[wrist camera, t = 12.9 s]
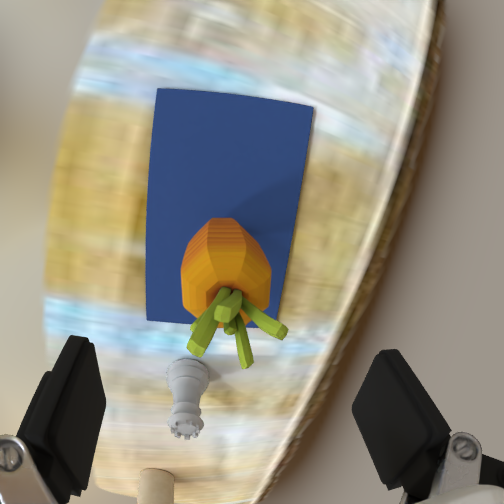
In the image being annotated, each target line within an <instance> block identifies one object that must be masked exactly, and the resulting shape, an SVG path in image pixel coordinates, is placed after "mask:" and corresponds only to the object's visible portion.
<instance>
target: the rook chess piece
mask: <svg viewBox="0 0 504 504" xmlns="http://www.w3.org/2000/svg"><path fill="white" fill-rule="evenodd" d="M166 373H167V378H166V380H167V384H168V387H169V388H170V390H171V392H172V393H173V402H174V403H173V406H172V408H171V413H172V414H173V415H172V416H170V417H169V418H168V421H167V423H168V426H169V427H170V428H171V433H175V437H177V438H180V437H181V435H184V436H185V440H190V436H191V435H193V437H194V438H196V437H198V433H200V430H202V428H203V426H204V423H203V420H202V419H201V418H200V417H199V416H200V415H201V409H200V408H199V403H200V398H201V395H202V394H203V392H204V391H205V390H206V388H207V386H208V384H209V382H208V379H209V372H208V370H207V369H206V367H205V366H204V365H202V364H201V363H199V362H198V361H196V360H192V359H181V360H178V361H175V362H173V363H172V364H171V365H170V366H169V367H168V369H167V372H166Z"/></svg>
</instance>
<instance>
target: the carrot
mask: <svg viewBox="0 0 504 504" xmlns="http://www.w3.org/2000/svg"><path fill="white" fill-rule="evenodd" d="M271 272H272V271H271V267H270V265H269V262H268V260H267V258H266V256H265V254H264V252H263V250H262V249H261V247H260V245H259V243H258V242H257V241H256V240H255V239H254V238H253V237H252V236H251V235H250V234H249V233H248V232H247V231H246V230H245V229H244V228H243V227H242V226H241V225H240V224H239V223H238V222H237V221H236V220H234V219H233V218H211V219H210V220H209V221H208V222H207V223H206V224H205V225H204V226H203V227H202V228H201V229H200V230H199V231H198V232H197V233H196V234H195V235H194V236H193V238H192V239H191V240H190V242H189V243H188V245H187V248H186V251H185V254H184V258H183V261H182V265H181V285H182V300H183V306H184V308H185V309H186V310H187V311H189V312H190V313H191V314H192V315H194V316H195V317H196V318H197V319H196V320H195V321H194V323H193V324H192V325H191V327H190V330H191V331H192V332H193V333H192V335H191V338H190V340H189V342H188V344H187V349H188V350H189V351H190V352H191V353H192V354H193V355H195V356H197V357H200V358H201V357H202V356H203V354H204V352H205V351H206V349H207V347H208V345H209V343H210V342H211V340H212V338H213V336H214V333H215V331H216V329H217V328H224V332H225V333H226V334H227V335H233V334H235V338H236V344H237V351H238V356H239V360H240V364H241V367H242V369H245V368H249V367H250V366H251V365H252V364H253V363H254V360H253V355H252V351H251V347H250V343H249V339H248V335H247V331H246V327H245V326H246V325H247V324H248V323H249V322H250V321H253V322H254V323H255V324H256V325H257V326H258V327H259V328H260V329H261V330H263V331H264V332H266V333H268V334H269V335H271V336H273V337H275V338H278V339H280V340H283V339H284V338H285V336H286V335H287V332H288V328H287V327H286V326H285V325H283V324H282V323H280V322H278V321H276V320H275V319H273V318H271V317H270V316H268V315H267V314H266V313H264V312H263V311H264V310H265V309H266V308H267V307H268V306H269V299H270V286H271Z"/></svg>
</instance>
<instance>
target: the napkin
mask: <svg viewBox="0 0 504 504" xmlns="http://www.w3.org/2000/svg"><path fill="white" fill-rule="evenodd" d="M313 108H314V107H311V106H306V105H301V104H295V103H290V102H284V101H278V100H272V99H265V98H259V97H252V96H244V95H236V94H227V93H218V92H207V91H195V90H181V89H161V88H158V89H157V95H156V103H155V111H154V120H153V129H152V140H151V151H150V163H149V177H148V194H147V217H146V315H147V320H149V321H160V322H171V323H183V324H193V323H194V321H195V320H196V319H197V318H196V317H195V316H194V315H192V314H191V313H190V312H189V311H187V310H186V309H185V308H184V306H183V300H182V285H181V265H182V261H183V258H184V254H185V251H186V248H187V245H188V243H189V242H190V240H191V239H192V238H193V236H194V235H195V234H196V233H197V232H198V231H199V230H200V229H201V228H202V227H203V226H204V225H205V224H206V223H207V222H208V221H209V220H210V219H211V218H233V219H234V220H236V221H237V222H238V223H239V224H240V225H241V226H242V227H243V228H244V229H245V230H246V231H247V232H248V233H249V234H250V235H251V236H252V237H253V238H254V239H255V240H256V241H257V242H258V243H259V245H260V247H261V249H262V250H263V252H264V254H265V256H266V258H267V260H268V262H269V265H270V267H271V271H272V272H271V286H270V299H269V306H268V307H267V308H266V309H265V310H264V311H263V312H264V313H266V314H267V315H268V316H270V317H271V318H273V319H275V320H276V318H277V313H278V308H279V303H280V298H281V293H282V288H283V283H284V278H285V273H286V268H287V263H288V257H289V252H290V247H291V241H292V236H293V230H294V225H295V219H296V213H297V208H298V202H299V196H300V190H301V184H302V178H303V172H304V166H305V160H306V154H307V148H308V141H309V135H310V128H311V122H312V115H313ZM245 327H248V328H259V327H258V326H257V325H256V324H255V323H254V322H253V321H250V322H249V323H248V324H247V325H246V326H245Z"/></svg>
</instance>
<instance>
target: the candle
mask: <svg viewBox="0 0 504 504" xmlns="http://www.w3.org/2000/svg"><path fill="white" fill-rule="evenodd" d="M137 504H174V477H173V475H172V474H170V473H168V472H166V471H163V470H159V469H145V470H143V471H141V473H140V477H139V487H138V497H137Z"/></svg>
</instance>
